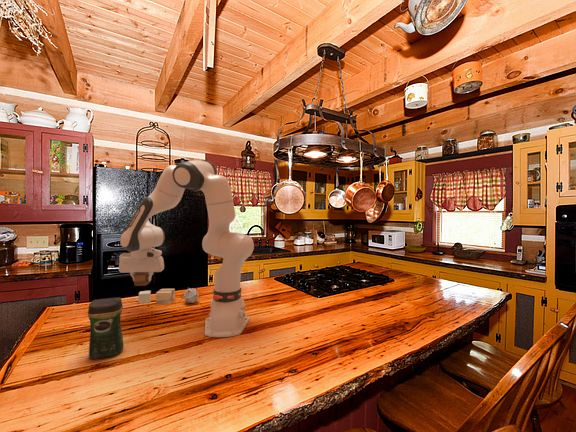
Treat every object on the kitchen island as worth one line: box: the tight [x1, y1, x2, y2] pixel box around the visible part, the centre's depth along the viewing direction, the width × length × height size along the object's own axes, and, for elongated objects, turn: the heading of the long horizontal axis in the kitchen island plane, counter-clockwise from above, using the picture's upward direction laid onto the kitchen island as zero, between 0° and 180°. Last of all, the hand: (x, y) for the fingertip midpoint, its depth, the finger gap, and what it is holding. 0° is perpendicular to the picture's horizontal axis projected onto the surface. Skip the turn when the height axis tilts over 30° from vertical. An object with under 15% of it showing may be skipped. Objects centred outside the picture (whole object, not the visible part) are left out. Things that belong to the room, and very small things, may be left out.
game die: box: [181, 286, 200, 305], centre depth 140 cm, size 9×8×10 cm
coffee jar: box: [87, 296, 124, 360], centre depth 91 cm, size 10×8×19 cm
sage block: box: [138, 290, 152, 304], centre depth 142 cm, size 5×5×5 cm
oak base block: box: [155, 288, 176, 305], centre depth 142 cm, size 7×7×6 cm
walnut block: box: [133, 272, 151, 287], centre depth 130 cm, size 5×5×5 cm
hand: (142, 281), depth 130 cm, fingers closed on walnut block, 5 cm apart
